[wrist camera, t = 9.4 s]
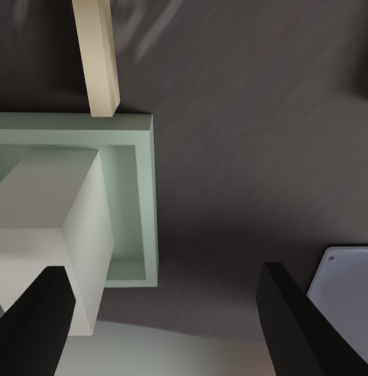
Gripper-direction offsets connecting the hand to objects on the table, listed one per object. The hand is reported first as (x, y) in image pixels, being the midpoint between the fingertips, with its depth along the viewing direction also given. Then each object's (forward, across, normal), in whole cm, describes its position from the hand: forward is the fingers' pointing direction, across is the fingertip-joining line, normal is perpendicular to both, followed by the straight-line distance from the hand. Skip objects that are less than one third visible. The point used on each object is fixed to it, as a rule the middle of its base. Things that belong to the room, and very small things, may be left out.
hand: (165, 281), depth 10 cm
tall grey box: (+9, +6, +3) cm, 11 cm away
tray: (+9, +6, +3) cm, 12 cm away
